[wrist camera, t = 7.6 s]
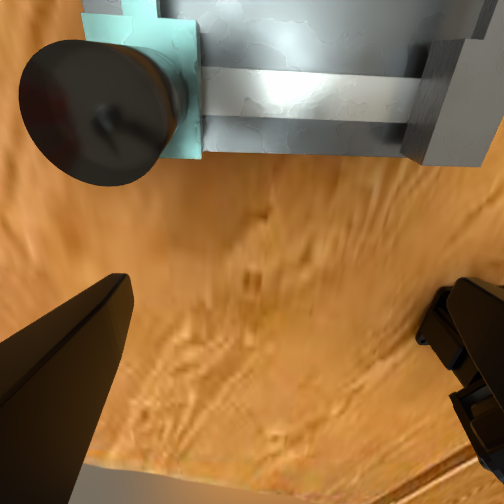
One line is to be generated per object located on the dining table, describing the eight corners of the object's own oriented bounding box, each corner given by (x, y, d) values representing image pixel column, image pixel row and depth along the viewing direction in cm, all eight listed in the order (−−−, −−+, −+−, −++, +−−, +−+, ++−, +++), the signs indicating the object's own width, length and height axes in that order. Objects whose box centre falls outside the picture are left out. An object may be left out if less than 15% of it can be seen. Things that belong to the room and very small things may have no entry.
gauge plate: (555, -137, 13) (703, -223, 9) (446, 152, 19) (503, 177, 15) (58, -197, 11) (-35, -338, 7) (118, 141, 18) (87, 167, 14)
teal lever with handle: (196, -110, 11) (142, -411, 4) (204, 145, 16) (186, 218, 9) (81, -122, 11) (-206, -475, 4) (125, 142, 16) (39, 216, 8)
